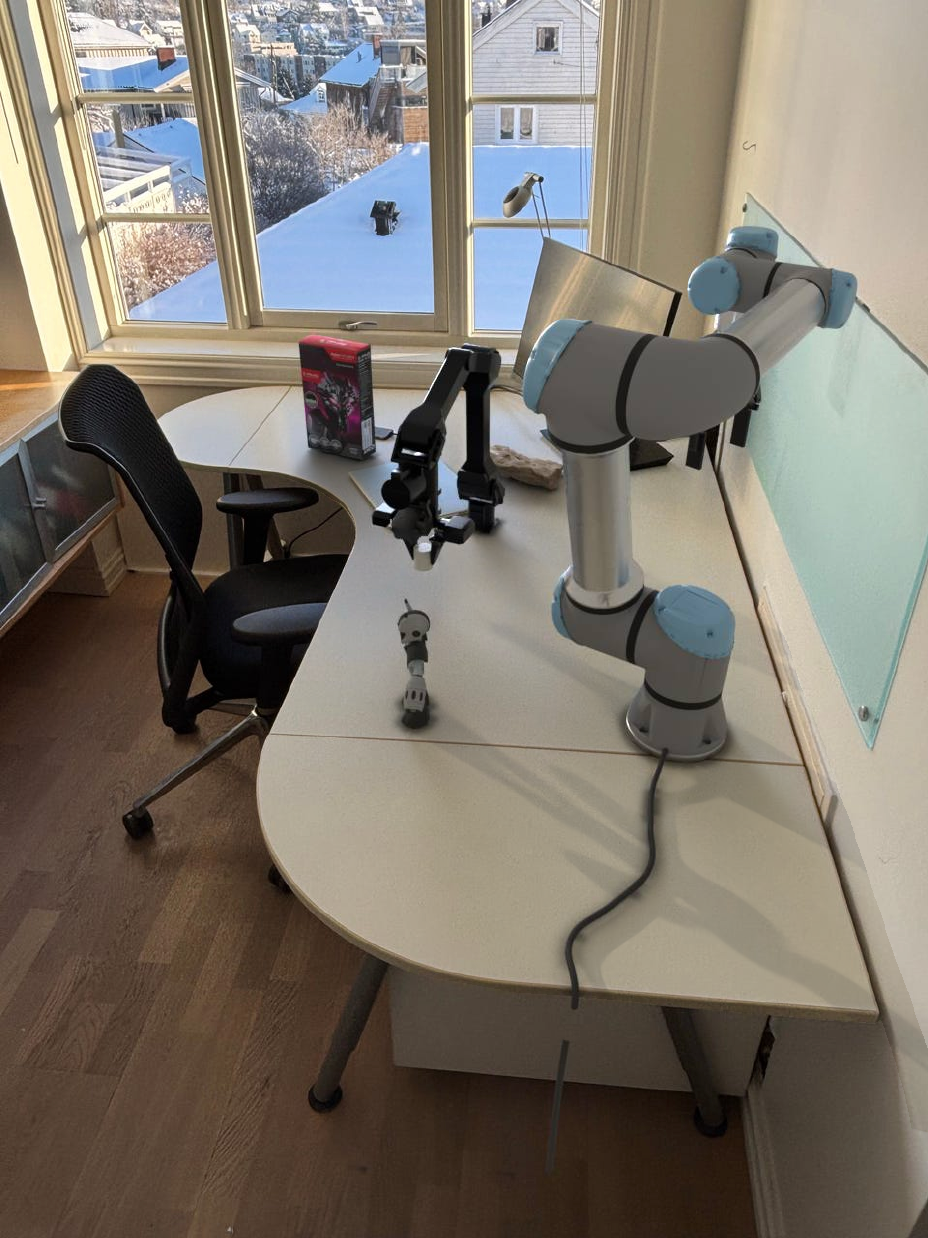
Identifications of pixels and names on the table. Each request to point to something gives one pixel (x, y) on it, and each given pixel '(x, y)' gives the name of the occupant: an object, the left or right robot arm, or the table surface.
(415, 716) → the robot
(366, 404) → the graphics card box
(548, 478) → the stone
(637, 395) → the right robot arm
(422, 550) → the can
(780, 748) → the table surface
